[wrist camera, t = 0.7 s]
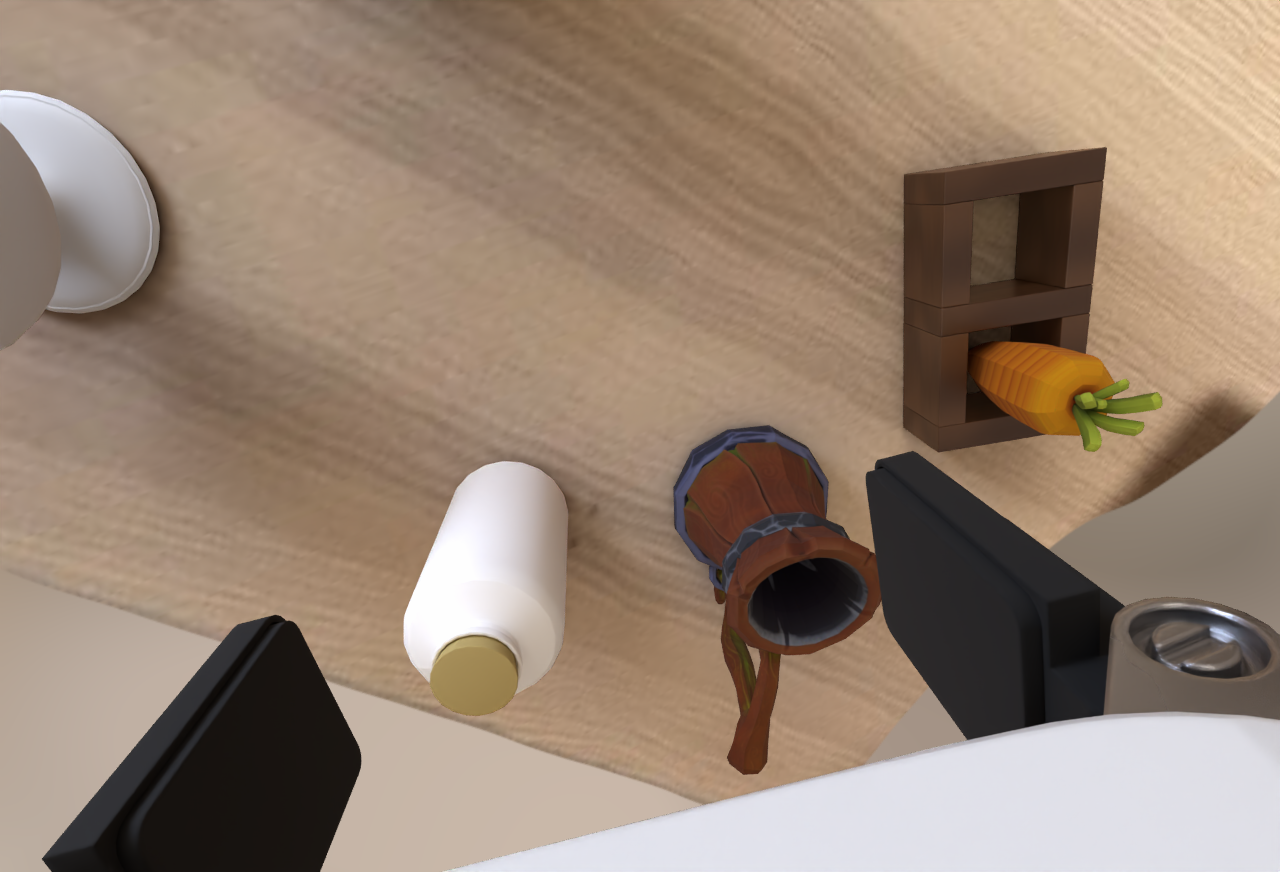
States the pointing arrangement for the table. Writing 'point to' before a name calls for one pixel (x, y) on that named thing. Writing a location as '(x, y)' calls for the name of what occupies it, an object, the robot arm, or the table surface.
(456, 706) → the white bottle
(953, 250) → the holder
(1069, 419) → the carrot
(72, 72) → the table surface
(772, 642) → the mug
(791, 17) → the table surface
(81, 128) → the chalice
